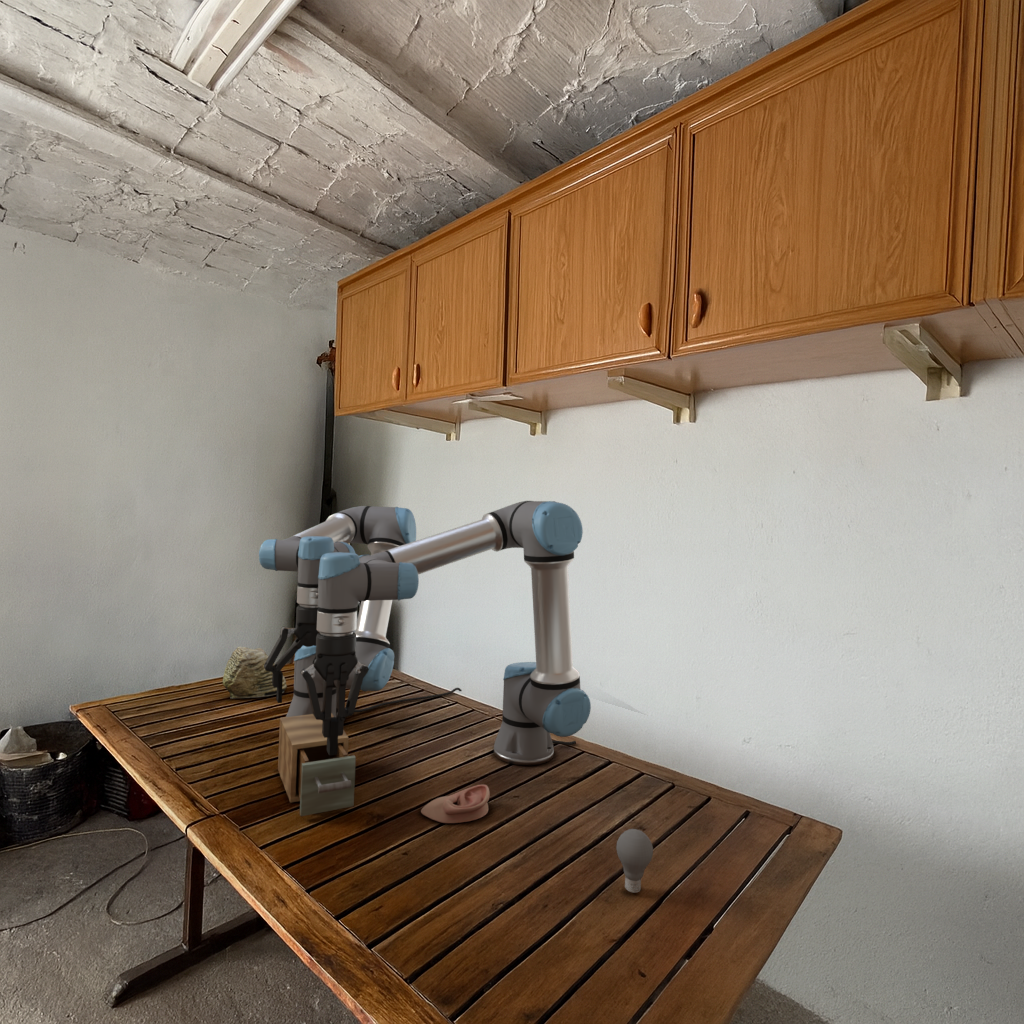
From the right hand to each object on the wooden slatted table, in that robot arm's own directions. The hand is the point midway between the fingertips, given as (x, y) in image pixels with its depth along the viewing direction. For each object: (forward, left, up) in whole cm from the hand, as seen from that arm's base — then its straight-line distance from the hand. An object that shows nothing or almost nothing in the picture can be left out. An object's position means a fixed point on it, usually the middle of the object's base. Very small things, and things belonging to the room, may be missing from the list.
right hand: (331, 752), depth 124 cm
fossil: (+12, -86, -14) cm, 88 cm away
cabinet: (+2, -19, -14) cm, 24 cm away
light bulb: (-45, +39, -14) cm, 60 cm away
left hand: (+2, -23, +4) cm, 23 cm away
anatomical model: (-25, +4, -14) cm, 28 cm away
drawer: (+1, -7, -13) cm, 15 cm away
